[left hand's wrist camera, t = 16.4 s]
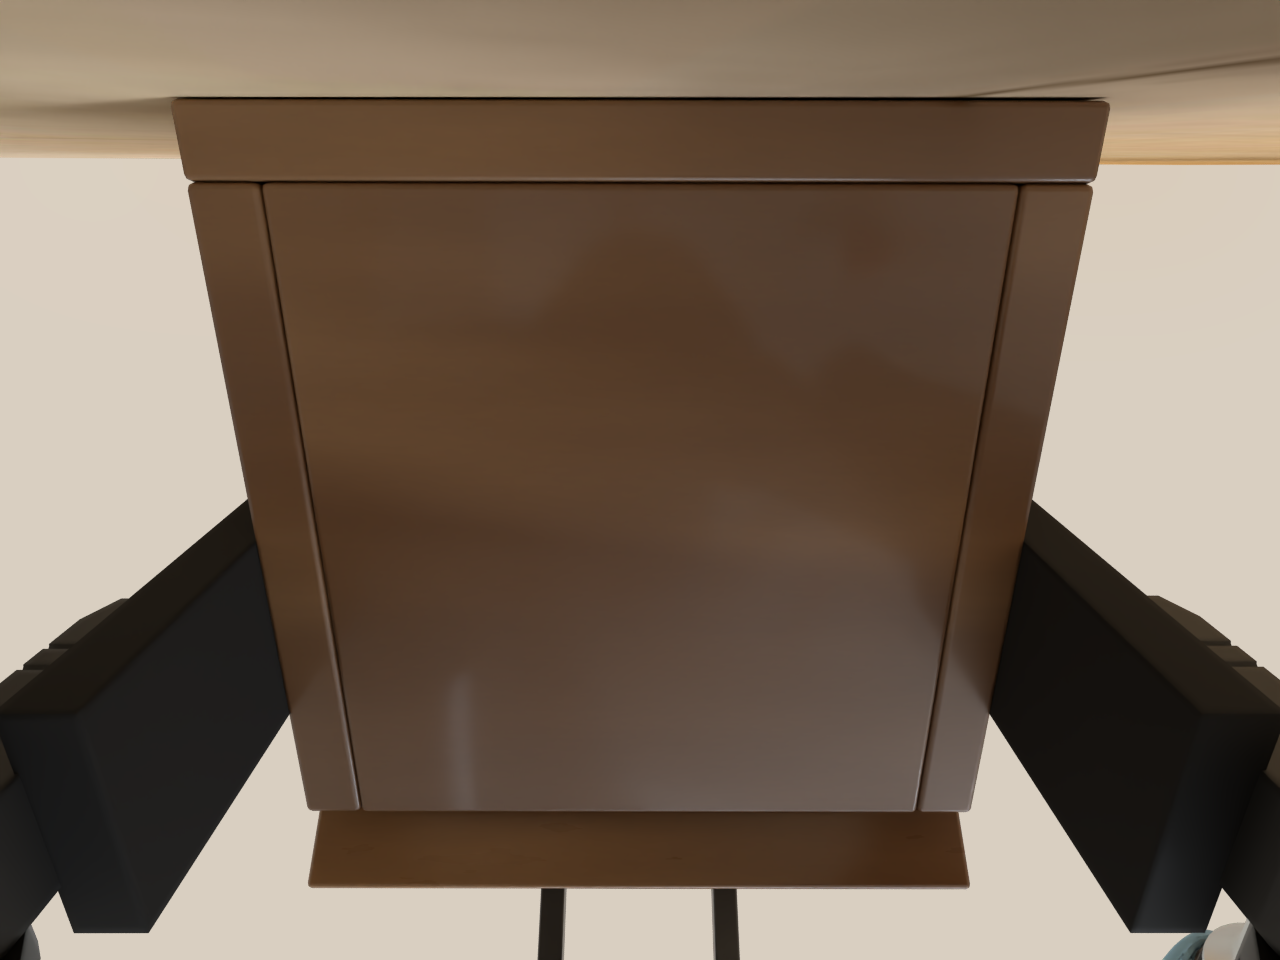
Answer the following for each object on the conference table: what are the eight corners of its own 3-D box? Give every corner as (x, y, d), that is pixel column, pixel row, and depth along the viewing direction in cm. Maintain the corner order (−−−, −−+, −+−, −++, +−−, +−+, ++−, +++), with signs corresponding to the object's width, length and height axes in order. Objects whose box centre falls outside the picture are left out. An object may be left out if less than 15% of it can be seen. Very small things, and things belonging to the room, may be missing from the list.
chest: (810, 151, 23) (787, 461, 26) (470, 150, 23) (492, 460, 26) (1115, 99, 8) (972, 814, 12) (166, 97, 8) (305, 813, 12)
